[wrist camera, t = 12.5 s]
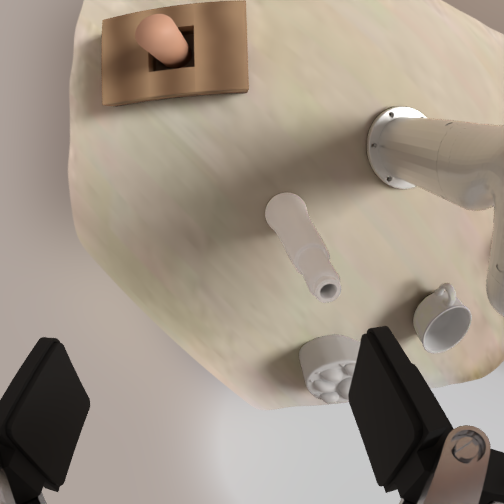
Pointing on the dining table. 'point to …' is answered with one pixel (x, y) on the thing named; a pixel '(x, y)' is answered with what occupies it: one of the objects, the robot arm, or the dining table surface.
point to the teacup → (441, 320)
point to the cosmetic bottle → (303, 245)
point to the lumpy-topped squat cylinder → (329, 366)
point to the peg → (163, 40)
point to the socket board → (189, 76)
